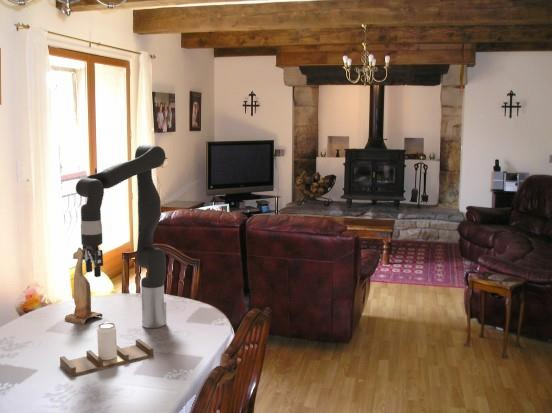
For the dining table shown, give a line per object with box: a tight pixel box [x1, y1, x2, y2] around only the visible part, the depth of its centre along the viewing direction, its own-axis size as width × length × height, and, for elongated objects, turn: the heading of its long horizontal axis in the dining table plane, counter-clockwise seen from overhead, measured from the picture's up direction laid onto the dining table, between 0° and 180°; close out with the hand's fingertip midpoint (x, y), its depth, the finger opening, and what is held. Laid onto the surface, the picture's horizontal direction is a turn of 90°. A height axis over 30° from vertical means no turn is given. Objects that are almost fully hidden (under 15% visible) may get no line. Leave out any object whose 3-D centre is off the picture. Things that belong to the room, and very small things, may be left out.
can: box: [97, 322, 118, 361], centre depth 219 cm, size 6×6×12 cm
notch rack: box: [59, 338, 154, 377], centre depth 220 cm, size 30×12×3 cm, turn 127°
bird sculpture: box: [64, 247, 103, 326], centre depth 262 cm, size 11×12×32 cm
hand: (93, 274), depth 231 cm, fingers open, 8 cm apart
